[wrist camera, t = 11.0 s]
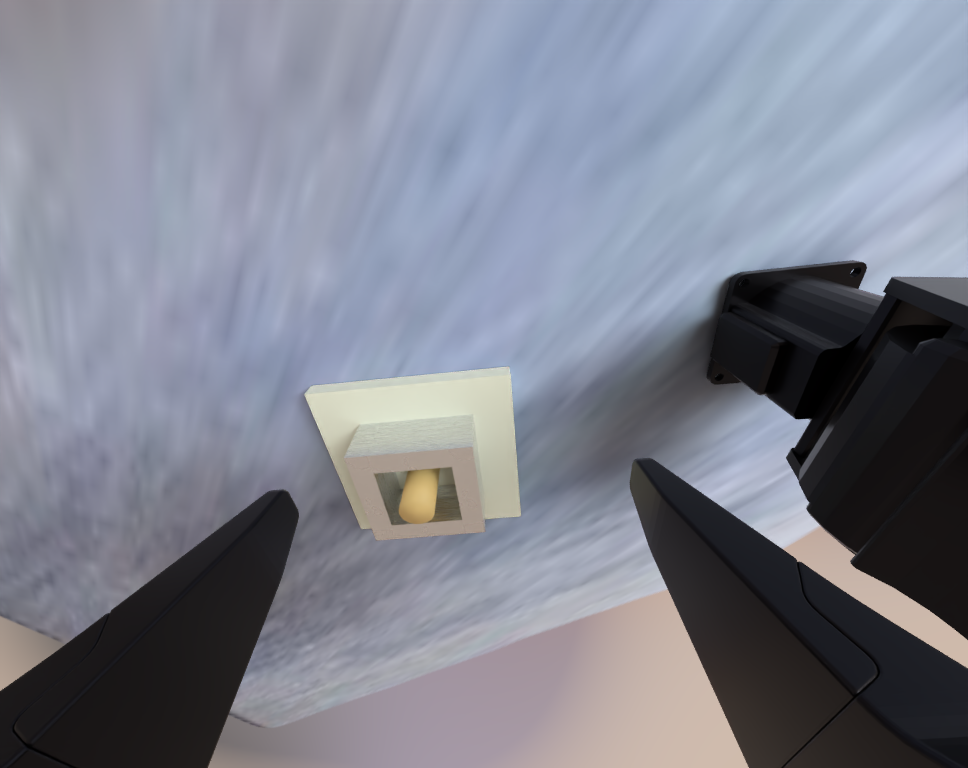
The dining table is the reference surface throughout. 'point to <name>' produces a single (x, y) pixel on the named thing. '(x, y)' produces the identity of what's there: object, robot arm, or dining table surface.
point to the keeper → (421, 399)
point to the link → (415, 449)
